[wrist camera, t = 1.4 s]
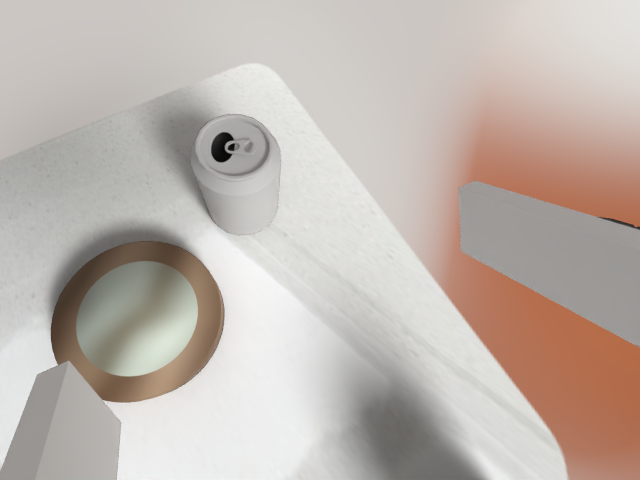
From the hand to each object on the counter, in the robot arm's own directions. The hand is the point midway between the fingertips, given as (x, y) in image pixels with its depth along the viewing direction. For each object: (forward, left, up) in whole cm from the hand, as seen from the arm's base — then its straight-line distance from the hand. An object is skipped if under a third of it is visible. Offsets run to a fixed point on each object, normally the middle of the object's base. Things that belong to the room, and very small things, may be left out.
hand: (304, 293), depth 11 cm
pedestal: (-13, -1, -25) cm, 28 cm away
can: (-8, +13, -25) cm, 30 cm away
